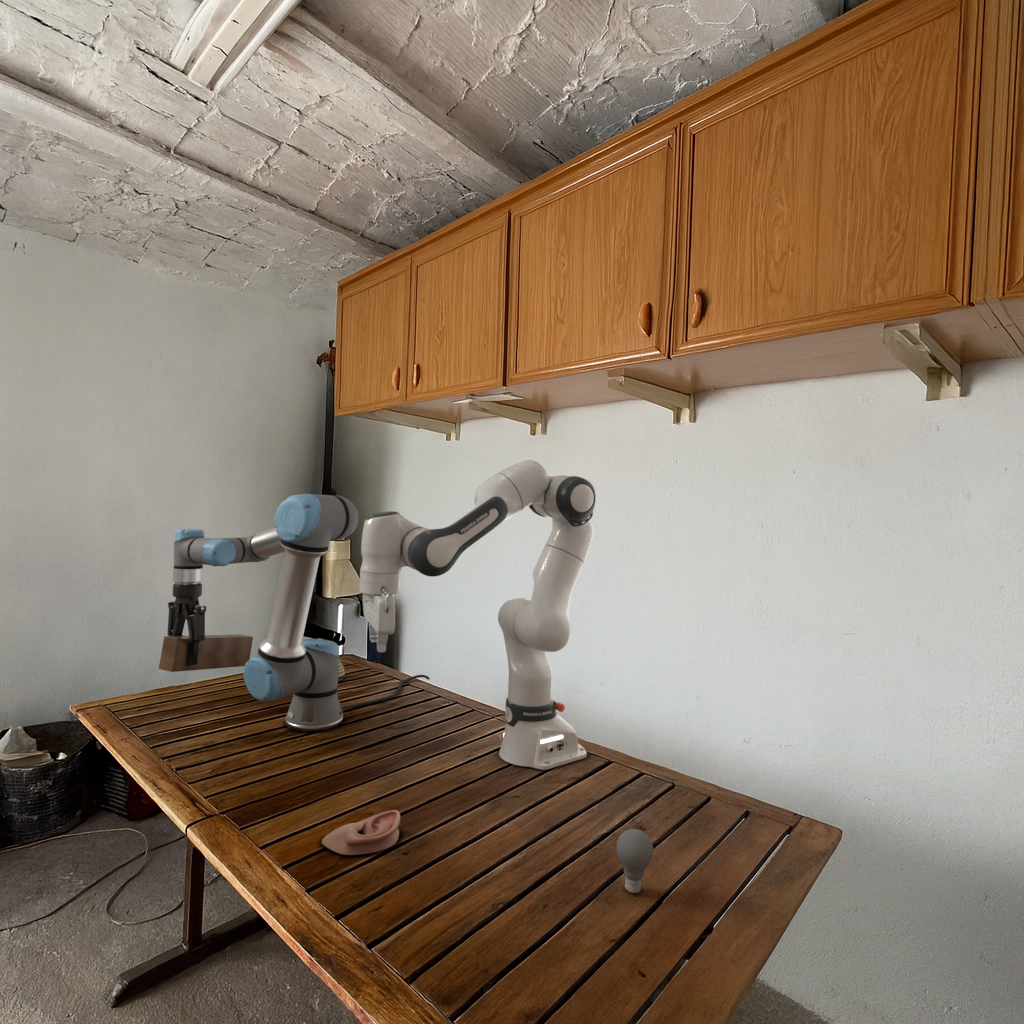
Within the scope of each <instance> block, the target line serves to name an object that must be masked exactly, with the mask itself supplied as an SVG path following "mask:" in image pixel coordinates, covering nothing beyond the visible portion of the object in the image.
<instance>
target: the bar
mask: <svg viewBox="0 0 1024 1024" xmlns="http://www.w3.org/2000/svg"><path fill="white" fill-rule="evenodd" d="M253 640H254V636H251V635H246V634H205V639H204V640H202V641H200V642H199V649H198V650H199V652H198V660H197V664H195V665H191V666H187V656H188V642H189V641H190V637H189V635H183V636H168V635H165V636H163V640H162V641H163V642H162V647H161V652H160V659H159V663H158V670H161V671H166V672H169V673H178V672H187V671H188V672H189V671H202V670H213V669H215V670H216V669H227V668H238V667H239V668H240V667H245V664H246V663H247V661H249V660H250V659H251V653H252V648H253V647H252V646H253Z"/></svg>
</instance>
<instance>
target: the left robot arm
mask: <svg viewBox="0 0 1024 1024" xmlns="http://www.w3.org/2000/svg"><path fill="white" fill-rule="evenodd" d="M358 524H359V512H358V509H357V507H356V505H355V504H354V503H353V502H352V501H351V500H350V499H349V498H347V497H345V496H341V495H335V494H316V493H315V494H314V493H313V494H312V493H302V494H293V495H290V496H288V497H287V498H285V499H284V500H282V501H281V503H280V504H279V505H278V507H277V509H276V512H275V515H274V527H272V528H269V529H266V530H264V531H261V532H258V533H255V534H252V535H249V536H243V537H242V536H241V537H205V531H204V530H203V529H199V528H180V529H179V528H178V529H177V530H176V531H175V533H174V542H173V567H172V568H173V569H172V581H173V584H172V596H173V598H175V599H174V601H169V602H167V606H168V617H167V618H168V619H167V636H184V635H183V633H184V629H185V624H186V623H187V630H188V636H189V637H190V641H189V642H188V656H187V666H191V665H195V664H197V660H198V652H199V650H198V649H199V642H200V641H202V640H204V639H205V635H206V611H207V606H206V605H201V604H200V600H199V598H200V597H201V596H203V584H202V582H203V568H204V565H206V566H212V567H215V568H216V567H226V566H228V565H233V564H244V563H259V562H266V561H267V560H269V558H270V557H272V556H276V555H278V554H281V553H284V554H283V559H282V564H281V568H280V569H281V570H280V575H279V579H278V584H277V589H276V593H275V599H274V604H273V607H272V612H271V616H270V617H271V618H270V623H269V626H268V632H267V637H266V639H264V640H262V641H261V642H260V643H259V644H258V650H257V655H256V656H252V657H250V659H249V661H247V663H246V664H245V666H243V667H244V668H243V680H244V684H245V686H246V688H247V691H248V693H249V694H250V695H251V696H252V697H253V698H254V699H256V700H257V701H259V702H264V703H268V702H272V701H279V700H280V699H282V698H285V697H288V696H293V697H292V699H291V702H290V704H289V708H288V711H287V713H286V715H285V726H286V728H287V729H289V730H291V731H294V732H295V731H296V732H301V733H316V732H325V731H329V730H332V729H335V728H337V727H339V726H340V725H342V723H343V722H344V714H343V710H348V709H354V708H358V707H362V706H367V705H371V704H376V703H380V702H383V701H387V700H390V699H392V698H395V697H396V696H397V695H398V694H399V692H400V690H401V688H402V686H403V684H405V683H407V682H410V681H412V680H414V679H419V678H425V679H426V680H429V681H430V680H431V678H430V676H428V675H426V674H417V675H413V676H411V677H408V678H406V679H403V680H401V681H400V683H399V684H398V687H397V688H396V690H395V692H394V693H393V694H390V695H388V696H384V697H381V698H376V699H372V700H368V701H364V702H359V703H353V704H348V705H342V706H341V702H340V699H339V695H338V682H339V680H338V665H339V660H340V654H339V648H340V647H339V645H338V643H337V642H335V641H333V640H328V639H323V638H321V639H320V638H312V639H303V637H304V633H305V629H306V624H307V619H308V615H309V611H310V605H311V601H312V596H313V591H314V589H315V588H314V587H315V584H316V578H317V573H318V568H319V564H320V560H321V557H322V556H323V555H325V554H326V553H328V551H329V546H330V542H332V541H335V540H342V539H345V538H347V537H349V536H351V535H352V534H353V533H354V532H355V531H356V529H357V527H358ZM322 639H323V640H322Z"/></svg>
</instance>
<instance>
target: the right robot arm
mask: <svg viewBox="0 0 1024 1024" xmlns="http://www.w3.org/2000/svg"><path fill="white" fill-rule="evenodd" d="M596 502H597V494H596V490H595V487H594V485H593V484H592V483H591V482H590V481H589V480H587V479H585V478H584V477H581V476H576V475H572V476H571V475H561V474H560V475H551V476H550V475H548V473H547V471H546V469H545V467H543V465H541V463H539V462H537V461H536V460H532V459H527V460H526V459H525V460H524V461H520V462H518V463H514V464H512V465H511V466H508V467H506V468H504V469H502V470H501V471H499V472H497V473H495V474H493V475H491V476H490V477H489V478H488V479H486V480H485V481H484V482H482V483H481V484H480V485H479V486H478V487H477V488H476V490H475V493H474V505H475V506H474V507H473V508H472V509H471V510H470V511H468V512H467V513H465V514H464V515H462V516H461V517H459V518H458V519H456V520H454V521H453V522H452V523H450V524H449V525H447V526H445V527H440V528H426V527H424V526H421V525H419V524H416V523H414V522H412V521H410V520H408V518H406V517H404V516H403V515H401V513H400V512H399V511H392V510H391V511H390V510H389V511H380V512H375V513H372V514H370V515H368V516H367V517H366V518H365V520H364V522H363V527H362V533H361V543H360V545H361V546H360V554H361V560H362V561H361V566H360V568H359V569H360V570H359V588H358V589H359V593H360V594H362V610H363V611H362V612H363V617H364V619H365V620H366V621H367V622H368V631H369V641H370V642H371V643H376V651H377V653H385V652H387V643H388V640H389V635H393V634H394V633H395V629H396V605H395V604H396V602H395V595H397V594H399V593H400V592H401V576H402V575H401V574H402V573H401V572H402V571H401V570H402V568H403V567H408V568H411V569H412V570H416V571H417V572H419V574H421V575H423V576H426V577H431V578H432V577H440V576H442V575H444V574H446V573H448V572H449V571H450V570H451V569H452V567H454V565H455V564H456V563H457V560H458V559H459V558H460V557H461V555H462V554H463V553H464V552H465V551H466V550H467V549H469V548H470V547H471V546H472V545H474V544H475V543H477V542H478V541H480V539H482V538H483V537H484V536H486V535H487V534H489V533H490V532H491V531H493V530H494V529H495V528H497V527H498V526H499V525H501V524H502V523H505V522H506V521H508V520H510V519H511V518H513V517H515V516H517V515H518V514H520V513H521V512H522V511H525V509H527V508H529V509H530V511H532V512H533V513H534V514H535V515H537V516H539V517H543V518H549V519H551V521H552V524H551V525H552V526H551V532H550V534H549V535H548V538H547V540H546V542H545V544H544V546H543V549H542V550H541V553H540V555H539V557H538V559H537V562H536V564H535V566H534V567H533V569H532V570H533V571H532V578H533V588H532V594H531V597H530V599H529V598H526V597H525V598H524V597H519V598H518V597H517V598H511V599H508V600H506V601H505V602H504V603H503V604H502V605H501V606H500V609H499V610H498V614H497V623H498V625H499V627H500V629H501V632H502V636H503V639H504V645H505V652H506V658H507V665H508V666H507V667H508V684H507V688H508V689H507V697H506V699H505V710H504V715H505V716H504V719H505V726H504V731H503V734H502V741H501V745H500V749H499V751H498V756H499V758H500V759H502V760H503V761H504V762H506V763H508V764H511V765H514V766H519V767H526V768H533V769H536V770H539V771H540V770H541V771H547V770H550V769H553V768H557V767H560V766H563V765H566V764H570V763H573V762H576V761H581V760H583V759H586V758H587V757H588V756H587V755H588V754H587V750H586V748H585V747H584V746H582V744H580V743H579V740H578V739H579V738H578V734H577V732H576V729H575V728H574V727H573V726H572V725H571V724H570V723H569V722H567V721H566V720H565V719H564V718H563V717H562V716H560V715H559V714H558V712H560V713H563V712H564V711H565V710H566V709H565V708H566V705H565V704H564V703H561V702H560V701H556V700H554V699H552V696H553V695H552V693H553V673H554V672H553V668H552V666H551V663H550V661H549V659H548V656H547V653H555V652H558V651H561V650H562V649H564V648H565V647H566V646H567V645H568V643H569V642H570V639H571V636H572V625H571V621H570V617H569V616H570V615H569V614H570V613H569V612H570V605H571V600H572V599H571V598H572V594H573V591H574V588H575V586H576V583H577V581H578V578H579V576H580V574H581V571H582V569H583V567H584V564H585V561H586V559H587V557H588V555H589V552H590V549H591V545H592V541H593V537H594V532H595V530H594V526H593V523H592V522H591V521H590V520H591V519H592V517H593V515H594V509H595V507H596ZM557 711H558V712H557Z"/></svg>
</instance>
